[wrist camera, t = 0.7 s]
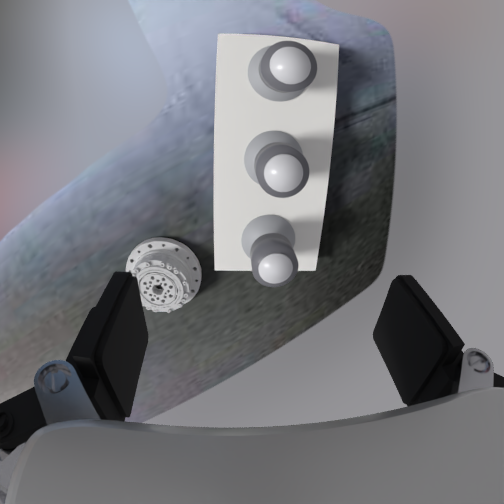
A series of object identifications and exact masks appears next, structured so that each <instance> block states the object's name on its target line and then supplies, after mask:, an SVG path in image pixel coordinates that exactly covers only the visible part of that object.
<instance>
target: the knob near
mask: <svg viewBox="0 0 504 504" xmlns="http://www.w3.org/2000/svg"><path fill="white" fill-rule="evenodd" d="M316 73H317V62H316V59H315V57H314V55H313V53H312V52H311V51H310V50H309V49H308V48H307V47H306V46H304V45H303V44H301V43H298V42H295V41H281V42H278V43H275V44H273V45H272V46H271V47H269V48H268V49H267V51H266V52H265V54H264V55H263V57H262V58H261V60H260V63H259V75H260V78H261V80H262V81H263V83H264V84H265V85H266V86H267V87H269V88H270V89H272V90H274V91H276V92H281V93H289V92H294V91H299V90H302V89H304V88H306V87H307V86H309V85H310V84H311V83H312V82H313V80H314V79H315V76H316Z"/></svg>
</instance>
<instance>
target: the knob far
mask: <svg viewBox="0 0 504 504" xmlns="http://www.w3.org/2000/svg"><path fill="white" fill-rule="evenodd" d="M250 257H251V266H252V273H253V275H254V277H255V279H256V280H257V281H258V282H259V283H261V284H262V285H265V286H268V287H278V286H282V285H285V284H287V283H288V282H290V281H291V280H292V279H293V278H294V277H295V275H296V273H297V271H298V260H297V257H296V254H295V252H294V249H293V247H292V244H291V242H290V241H289V240H288V239H287V238H286V237H285V236H283V235H281V234H278V233H267V234H264V235H262V236H260V237H259V238H257V239H256V240H255V241H254V243H253V244H252V246H251V250H250Z"/></svg>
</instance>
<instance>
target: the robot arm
mask: <svg viewBox="0 0 504 504" xmlns="http://www.w3.org/2000/svg"><path fill="white" fill-rule="evenodd" d="M373 339H374V341H375V343H376V345H377V347H378V349H379V351H380V353H381V356H382V358H383V360H384V362H385V364H386V366H387V368H388V370H389V372H390V375H391V377H392V379H393V381H394V383H395V385H396V388H397V390H398V392H399V394H400V396H401V398H402V401H403V403H405V404H407V406H408V407H404V408H400V409H396V410H391V411H387V412H382V413H376V414H371V415H366V416H360V417H355V418H348V419H342V420H335V421H327V422H319V423H310V424H300V425H289V426H273V427H249V428H209V427H184V426H167V425H155V424H145V423H136V422H124V421H125V417H130V414H131V410H132V406H133V401H134V397H135V392H136V388H137V383H138V379H139V375H140V371H141V367H142V363H143V359H144V355H145V351H146V347H147V343H148V331H147V326H146V322H145V317H144V312H143V307H142V302H141V296H140V291H139V285H138V280H137V277H136V276H132V273H131V272H115V273H114V274H113V276H112V278H111V279H110V281H109V283H108V285H107V287H106V289H105V290H104V292H103V294H102V296H101V298H100V300H99V302H98V304H97V305H96V307H93V308H92V309H91V310H90V312H89V314H88V316H87V318H86V320H85V322H84V324H83V326H82V328H81V330H80V332H79V334H78V336H77V338H76V340H75V342H74V344H73V346H72V348H71V350H70V352H69V355H68V357H67V359H66V361H63V360H53V361H49V362H47V363H45V364H44V365H42V366H41V367H40V368H39V369H38V370H37V372H36V374H35V377H34V387H33V388H31V389H29V390H27V391H25V392H23V393H21V394H19V395H17V396H15V397H13V398H11V399H9V400H7V401H5V402H3V403H1V404H0V504H504V377H502V376H500V375H498V374H496V373H494V367H493V362H492V360H491V359H490V357H489V356H488V355H487V354H486V353H485V352H483V351H481V350H479V349H476V348H470V349H467V350H466V351H465V352H464V353H463V352H462V348H463V346H464V345H465V344H464V342H463V341H462V340H461V338H460V337H459V335H458V334H457V333H456V331H455V330H454V329H453V327H452V326H451V324H450V323H449V322H448V320H447V319H446V318H445V317H444V315H443V314H442V312H441V311H440V310H439V309H438V308H437V306H436V305H435V303H434V302H433V301H432V300H431V298H430V297H429V296H428V295H427V293H426V292H425V291H424V290H423V288H422V287H421V286H420V285H419V284H418V282H417V281H416V280H415V279H414V278H413V276H411V275H398V276H397V277H396V278H395V279H394V280H393V281H392V283H391V285H390V288H389V291H388V294H387V297H386V300H385V302H384V305H383V308H382V311H381V313H380V316H379V318H378V321H377V324H376V326H375V329H374V332H373Z"/></svg>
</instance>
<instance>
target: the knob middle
mask: <svg viewBox="0 0 504 504" xmlns="http://www.w3.org/2000/svg"><path fill="white" fill-rule="evenodd" d="M254 170H255V173H256V176H257V179H258V182H259V184H260V186H261V188H262V189H263V190H264V191H265V192H266V193H268V194H269V195H271V196H274V197H278V198H287V197H291V196H294V195H296V194H297V193H299V192H300V191H301V190H302V189H303V188H304V187H305V185H306V183H307V181H308V178H309V165H308V162H307V160H306V158H305V157H304V156H303V155H302V154H301V153H300V152H299V151H298V150H296V149H295V148H294V147H292V146H291V145H289V144H287V143H283V142H273V143H270V144H267V145H266V146H264V147H263V148H262V149H261V150H260V151H259V152H258V154H257V155H256V158H255V161H254Z"/></svg>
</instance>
